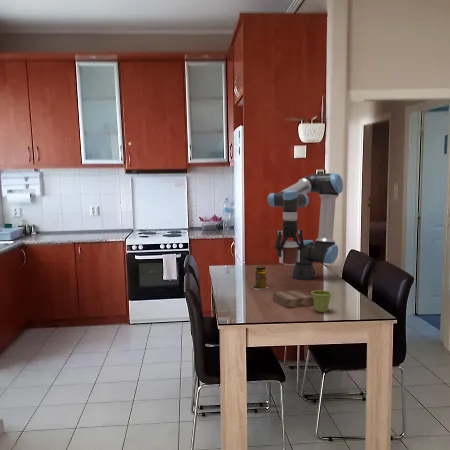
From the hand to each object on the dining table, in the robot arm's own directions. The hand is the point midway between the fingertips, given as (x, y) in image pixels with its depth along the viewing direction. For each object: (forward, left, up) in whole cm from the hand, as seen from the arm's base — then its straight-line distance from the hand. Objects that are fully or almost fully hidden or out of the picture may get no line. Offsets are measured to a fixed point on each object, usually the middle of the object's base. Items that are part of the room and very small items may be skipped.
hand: (289, 262), depth 242 cm
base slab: (+5, +12, -18) cm, 22 cm away
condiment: (+8, -22, -18) cm, 29 cm away
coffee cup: (0, 0, -1) cm, 1 cm away
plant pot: (-1, +29, -18) cm, 35 cm away
